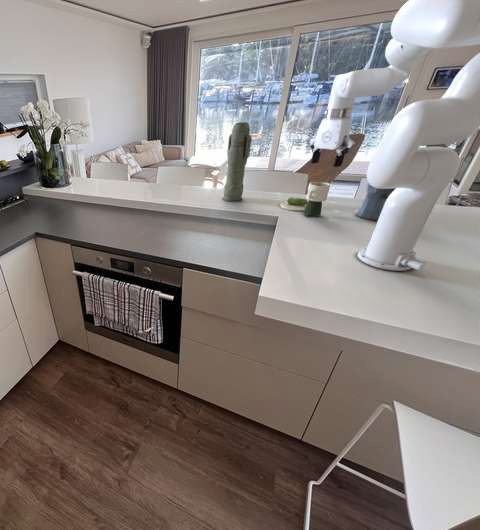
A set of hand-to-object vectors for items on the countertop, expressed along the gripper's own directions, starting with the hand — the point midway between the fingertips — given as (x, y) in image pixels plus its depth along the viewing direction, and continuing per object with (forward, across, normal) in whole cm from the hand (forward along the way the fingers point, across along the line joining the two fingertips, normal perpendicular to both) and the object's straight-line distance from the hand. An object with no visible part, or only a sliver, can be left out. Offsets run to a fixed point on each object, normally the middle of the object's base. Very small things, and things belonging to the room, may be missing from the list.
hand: (325, 164), depth 110 cm
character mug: (+21, -1, 0) cm, 21 cm away
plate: (+20, -12, +3) cm, 24 cm away
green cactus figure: (+20, -35, -14) cm, 42 cm away
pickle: (+20, -12, +3) cm, 24 cm away
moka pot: (+21, +11, +17) cm, 29 cm away
